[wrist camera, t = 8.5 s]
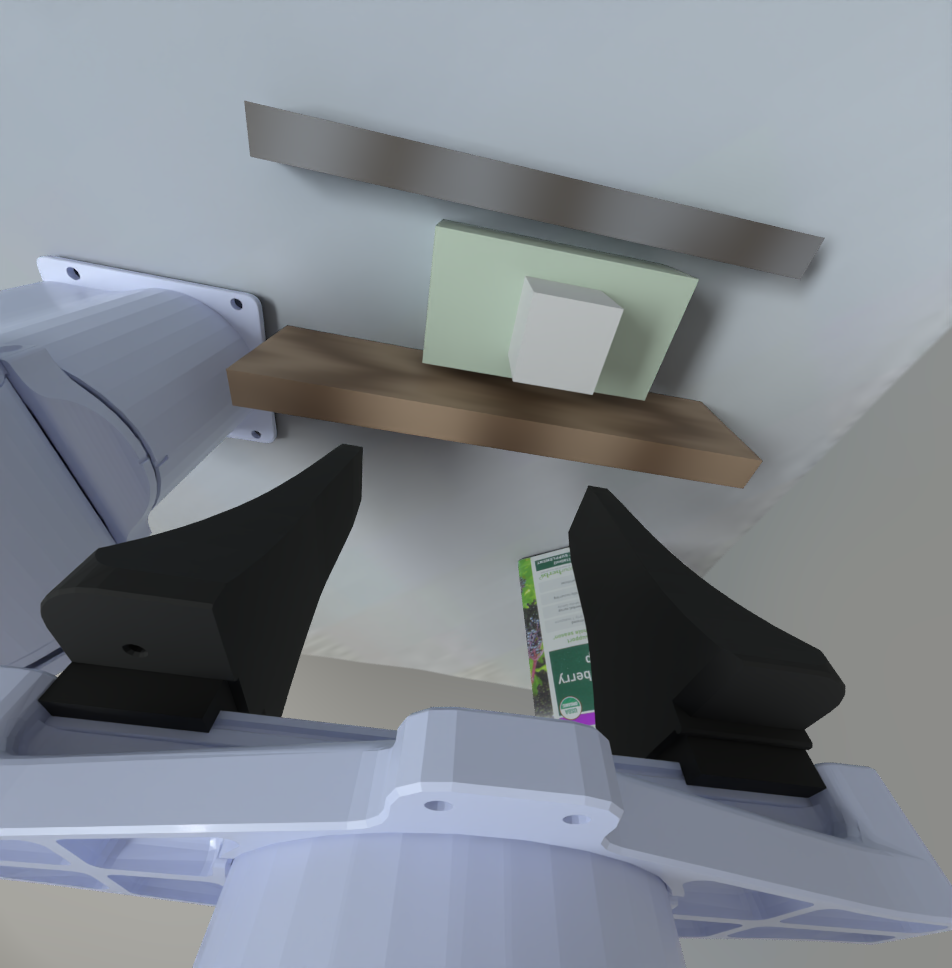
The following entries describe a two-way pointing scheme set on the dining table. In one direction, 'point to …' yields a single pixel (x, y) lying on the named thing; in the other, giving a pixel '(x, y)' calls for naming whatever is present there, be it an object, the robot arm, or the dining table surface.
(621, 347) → the mint block with knob
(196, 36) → the dining table surface
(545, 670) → the syrup box
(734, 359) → the dining table surface
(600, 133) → the dining table surface
